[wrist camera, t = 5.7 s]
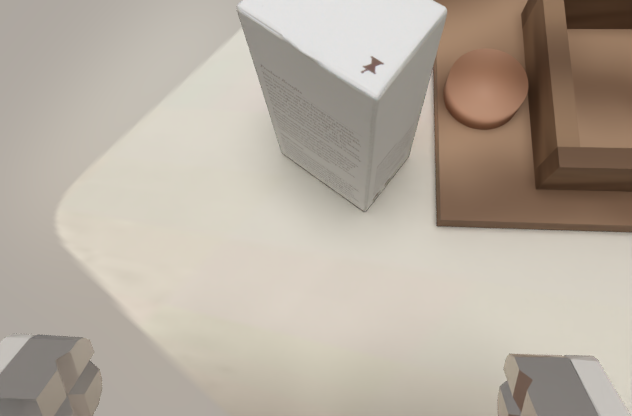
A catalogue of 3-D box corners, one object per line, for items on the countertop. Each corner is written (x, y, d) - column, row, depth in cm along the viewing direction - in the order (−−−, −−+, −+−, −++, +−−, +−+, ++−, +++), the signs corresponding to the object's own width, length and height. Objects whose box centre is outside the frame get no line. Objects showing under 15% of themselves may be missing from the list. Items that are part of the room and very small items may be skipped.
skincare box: (411, 155, 28) (456, 8, 16) (364, 214, 27) (377, 104, 15) (324, 97, 29) (308, -76, 18) (277, 152, 28) (229, 7, 17)
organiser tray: (760, 236, 25) (839, 212, 21) (437, 225, 26) (452, 201, 22) (710, 2, 29) (768, -55, 25) (431, 2, 30) (444, -53, 26)
